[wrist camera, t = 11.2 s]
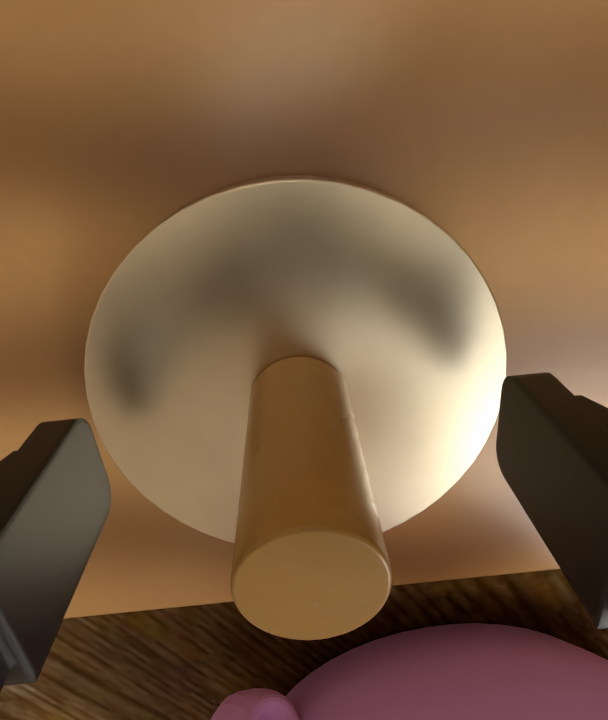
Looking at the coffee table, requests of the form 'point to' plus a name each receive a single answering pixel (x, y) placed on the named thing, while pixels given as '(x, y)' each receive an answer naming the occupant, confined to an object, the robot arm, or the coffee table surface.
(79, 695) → the coffee table surface
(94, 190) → the cork mat
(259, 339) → the lid
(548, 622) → the coffee table surface
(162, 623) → the coffee table surface
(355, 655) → the teapot
